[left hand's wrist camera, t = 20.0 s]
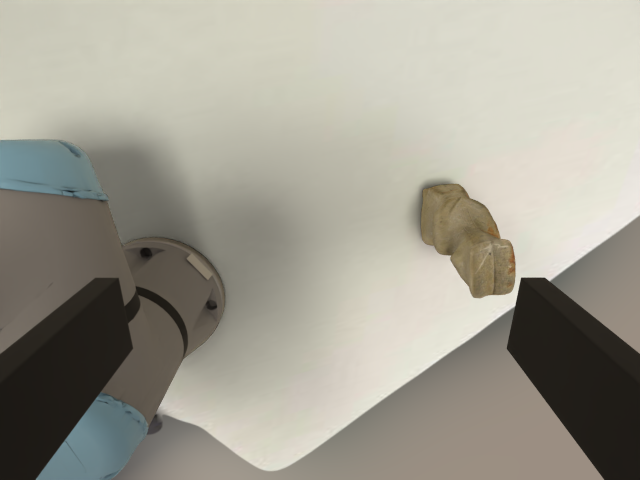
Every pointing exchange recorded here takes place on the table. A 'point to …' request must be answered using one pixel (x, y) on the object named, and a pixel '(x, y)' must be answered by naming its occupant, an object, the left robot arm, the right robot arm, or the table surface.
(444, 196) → the sculpture
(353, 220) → the table surface
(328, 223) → the table surface
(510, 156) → the table surface
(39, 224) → the left robot arm
